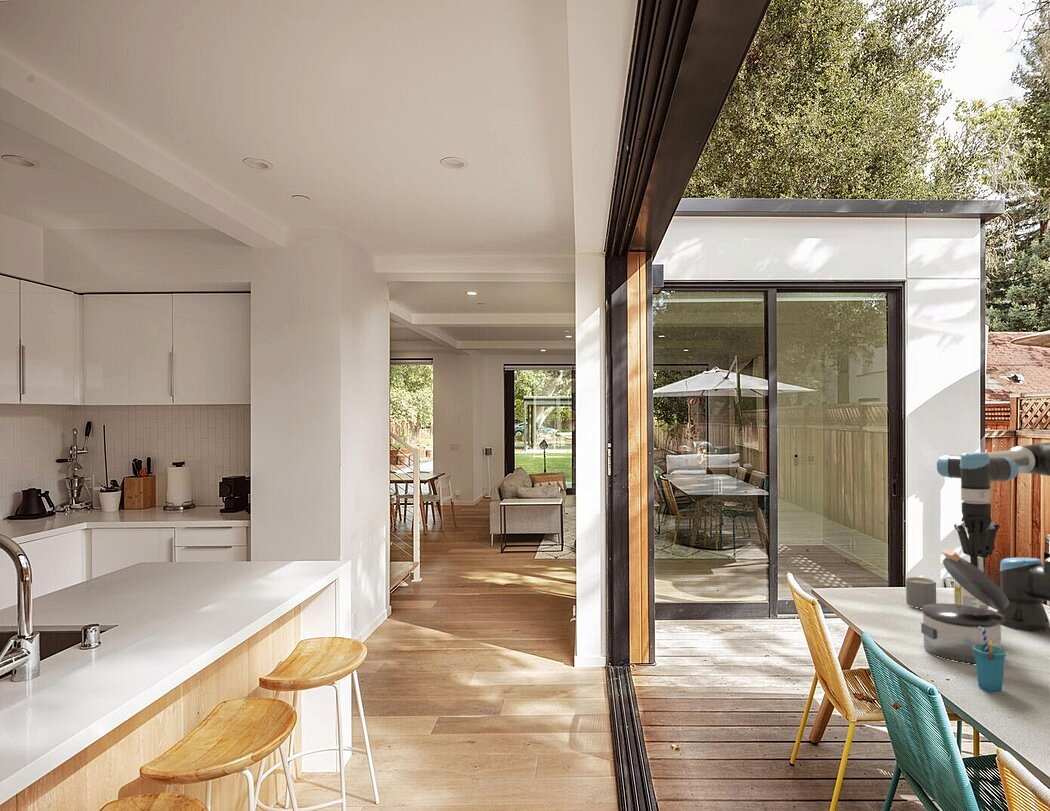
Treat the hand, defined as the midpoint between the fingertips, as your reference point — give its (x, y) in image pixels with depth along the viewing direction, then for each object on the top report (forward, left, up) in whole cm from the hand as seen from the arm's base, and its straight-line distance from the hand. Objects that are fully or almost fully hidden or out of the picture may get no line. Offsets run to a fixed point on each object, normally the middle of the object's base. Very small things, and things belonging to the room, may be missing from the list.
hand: (978, 577), depth 201 cm
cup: (+15, +25, -24) cm, 37 cm away
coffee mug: (-12, -51, -24) cm, 58 cm away
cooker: (+6, 0, -23) cm, 24 cm away
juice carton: (-8, -16, -24) cm, 30 cm away
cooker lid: (+3, 0, -1) cm, 3 cm away
